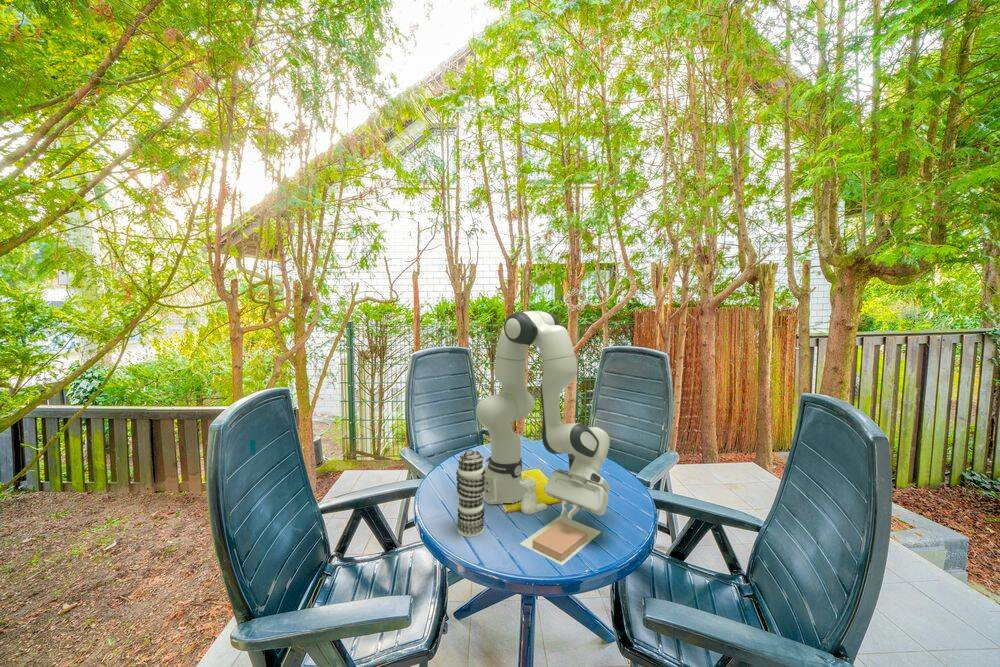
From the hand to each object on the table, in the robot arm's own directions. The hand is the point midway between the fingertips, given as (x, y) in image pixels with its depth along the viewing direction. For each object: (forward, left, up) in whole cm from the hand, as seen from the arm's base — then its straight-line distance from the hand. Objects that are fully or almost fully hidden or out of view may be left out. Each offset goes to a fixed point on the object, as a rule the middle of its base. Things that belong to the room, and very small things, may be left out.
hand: (565, 518), depth 122 cm
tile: (0, +4, -6) cm, 7 cm away
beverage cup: (-21, +41, -8) cm, 46 cm away
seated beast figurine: (-19, +8, -8) cm, 22 cm away
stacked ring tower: (-26, -14, -8) cm, 31 cm away
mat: (-1, 0, -7) cm, 8 cm away
